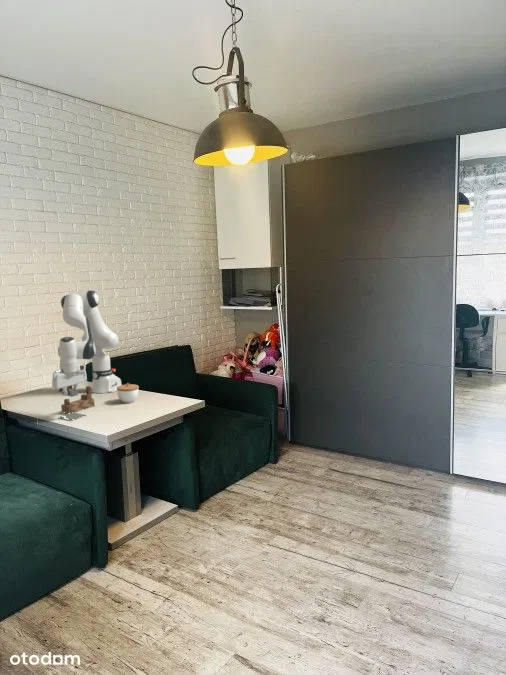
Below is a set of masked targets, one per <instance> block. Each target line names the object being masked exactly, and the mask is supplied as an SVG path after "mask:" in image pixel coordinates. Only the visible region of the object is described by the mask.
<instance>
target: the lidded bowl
mask: <svg viewBox="0 0 506 675" xmlns="http://www.w3.org/2000/svg"><path fill="white" fill-rule="evenodd" d="M139 388H140V386H139V385H138V384H134V383H133V384H131V383H129V382H127V383H126V384H122V385H121V386H118V387H117V391H116V392H117V397H118V400H119V401H121V403H123V404H132V403H134V402H135V401H136V400H137V398H138V396H139V391H140V390H139Z"/></svg>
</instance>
